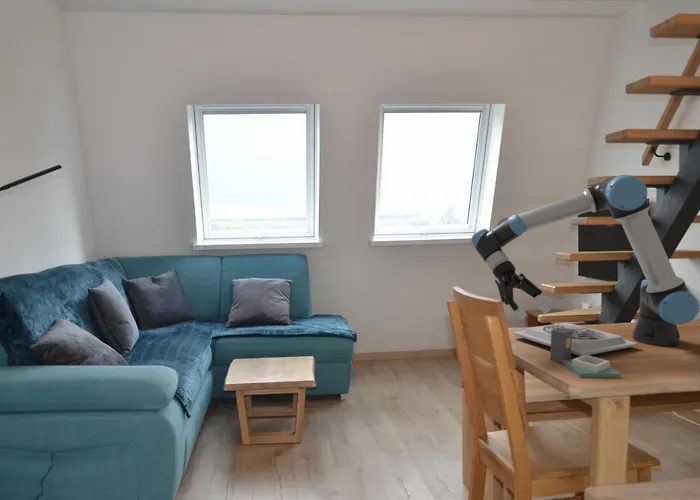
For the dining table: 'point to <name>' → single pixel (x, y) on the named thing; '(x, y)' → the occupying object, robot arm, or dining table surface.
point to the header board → (592, 374)
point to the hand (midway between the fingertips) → (536, 314)
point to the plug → (560, 345)
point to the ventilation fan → (578, 345)
